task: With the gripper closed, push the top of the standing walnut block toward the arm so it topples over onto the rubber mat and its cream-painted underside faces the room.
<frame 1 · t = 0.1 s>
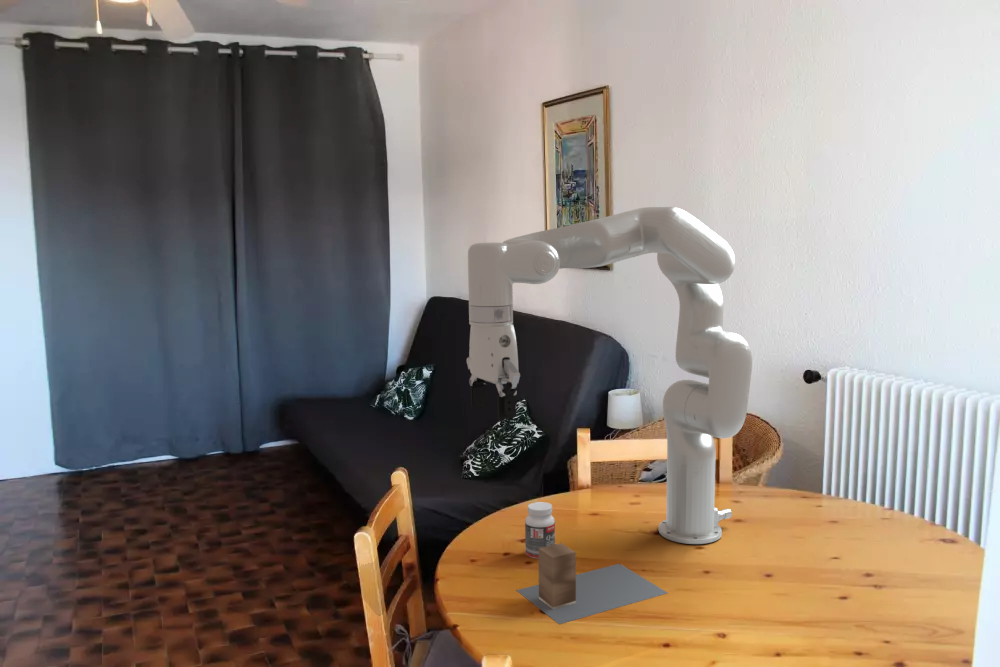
hand: (492, 412, 147), 31 cm above the table, fingers open, 9 cm apart
mat: (591, 594, 145), on the table
block: (557, 600, 142), point 1 cm above the table, touching mat
pill bottle: (540, 556, 162), on the table
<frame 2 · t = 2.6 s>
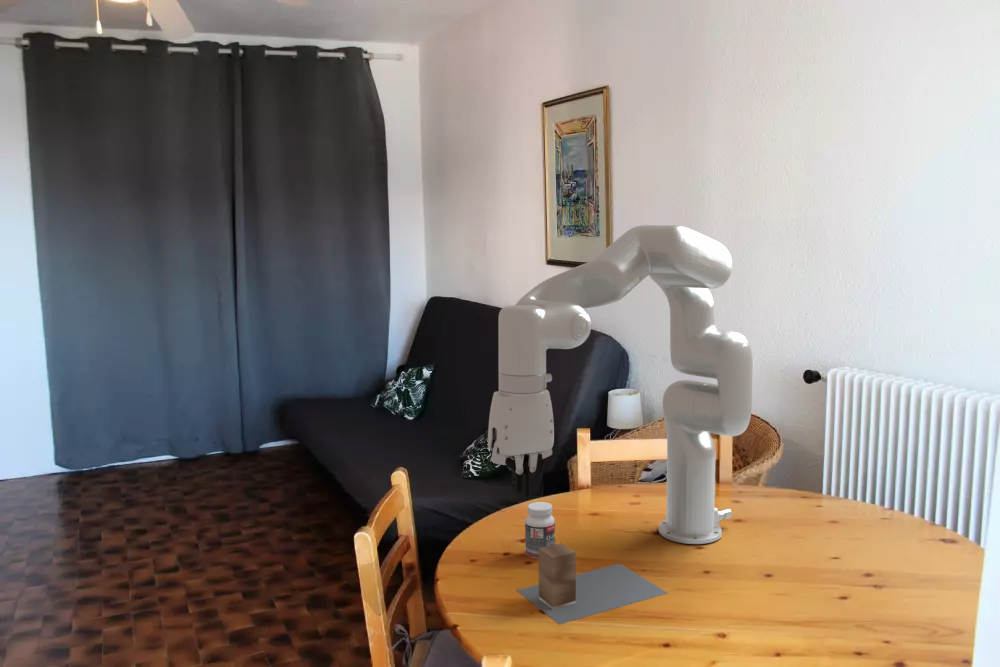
hand: (522, 494, 136), 20 cm above the table, fingers closed
nothing on the table moved.
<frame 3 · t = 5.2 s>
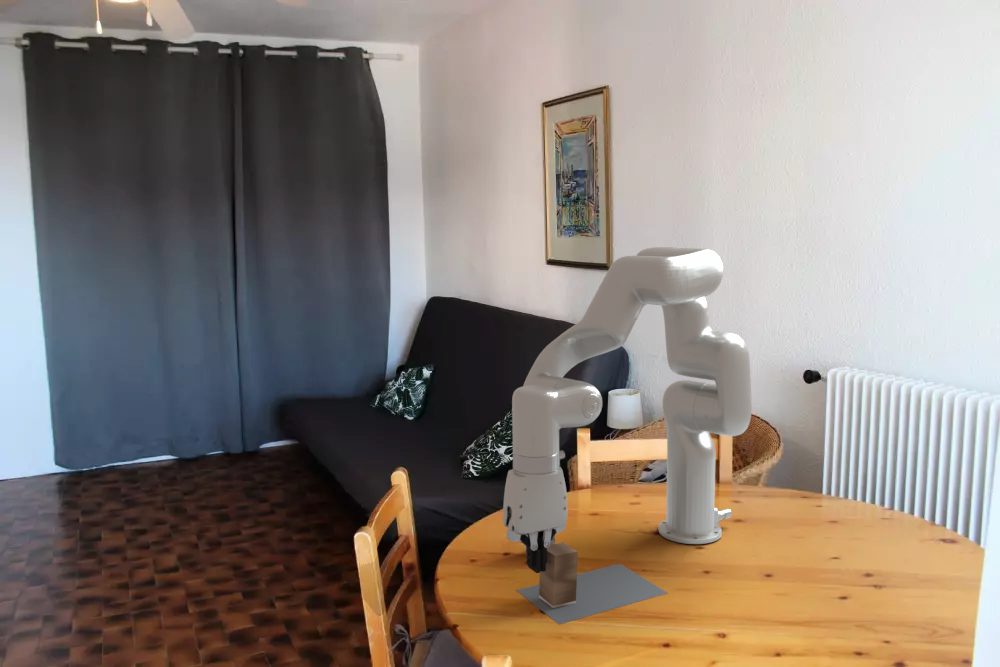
hand: (536, 569, 139), 7 cm above the table, fingers closed
block: (557, 600, 142), point 1 cm above the table, touching gripper, mat
everything else where it was.
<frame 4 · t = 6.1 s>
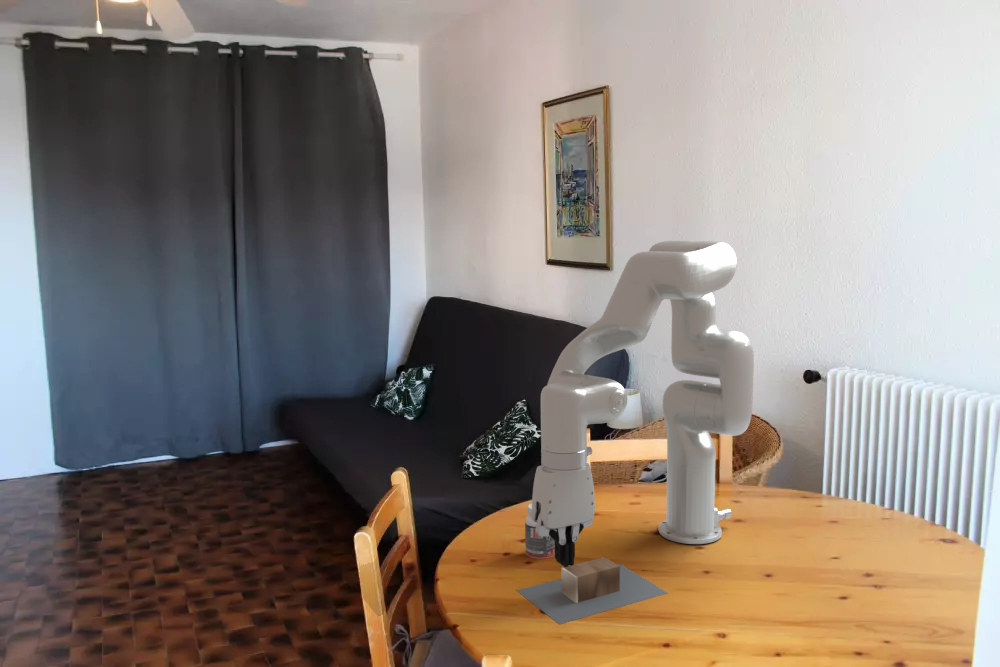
hand: (564, 563, 142), 7 cm above the table, fingers closed
block: (568, 585, 143), point 3 cm above the table, tilted 90°, touching mat
everything else where it was.
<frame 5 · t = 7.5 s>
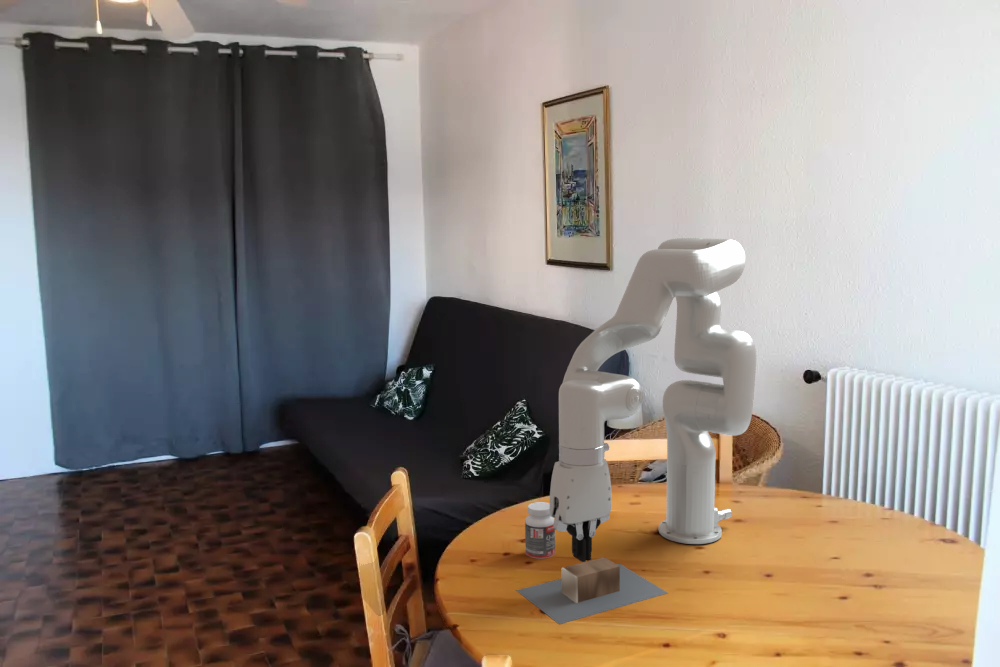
hand: (581, 558, 143), 7 cm above the table, fingers closed
nothing on the table moved.
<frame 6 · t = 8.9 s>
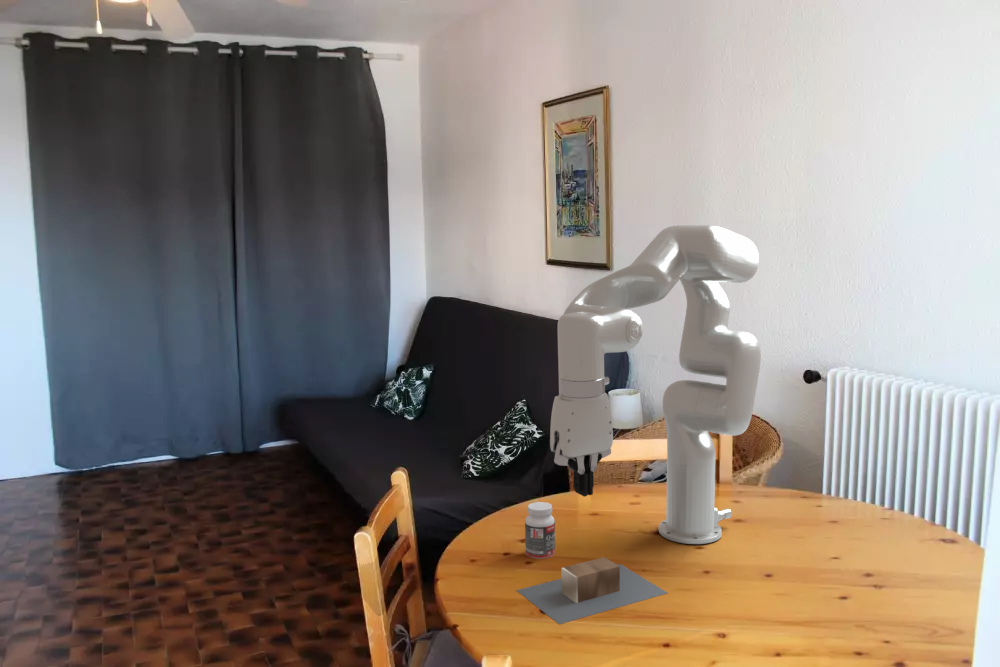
hand: (583, 493, 142), 18 cm above the table, fingers closed
nothing on the table moved.
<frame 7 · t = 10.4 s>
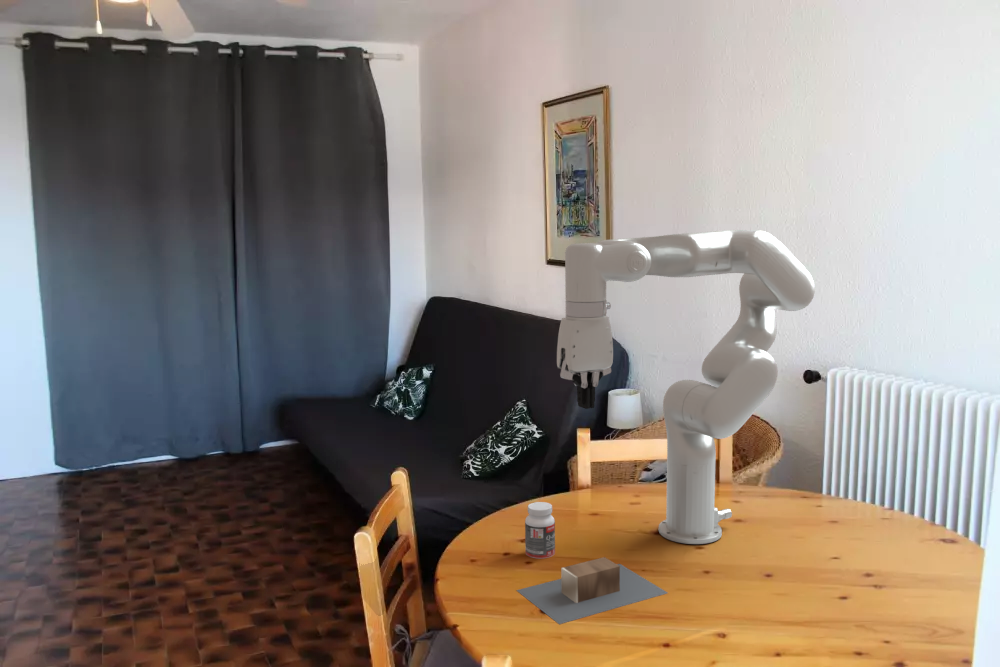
hand: (586, 406, 158), 29 cm above the table, fingers closed
nothing on the table moved.
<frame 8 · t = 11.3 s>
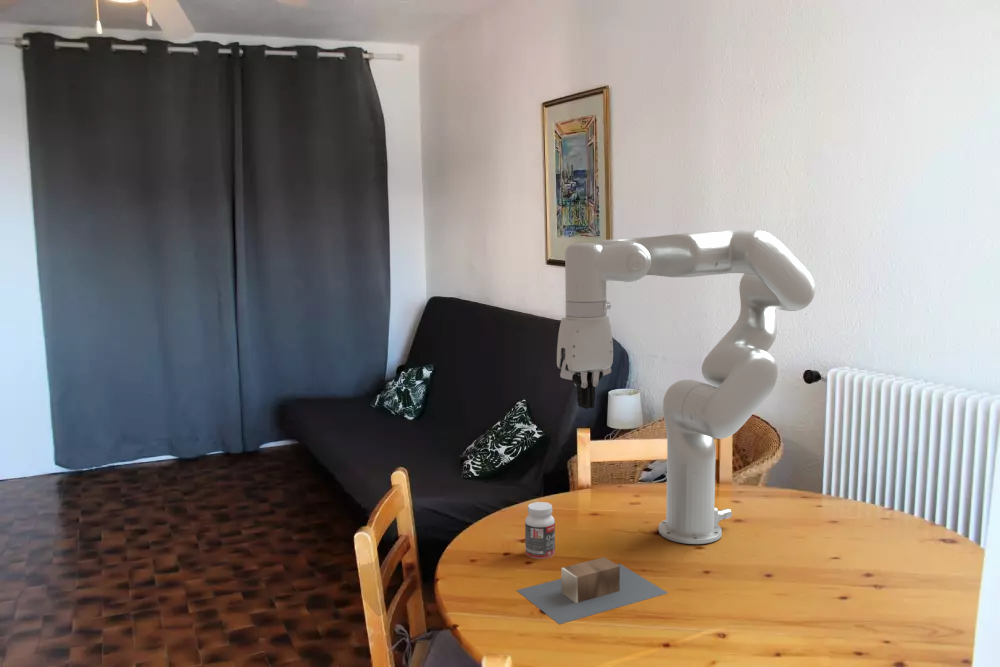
hand: (586, 406, 158), 29 cm above the table, fingers closed
nothing on the table moved.
at the end: block tilted 90°; block inside the target area (3.7 cm from its centre), point 2.8 cm above the table; the gripper is holding nothing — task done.
